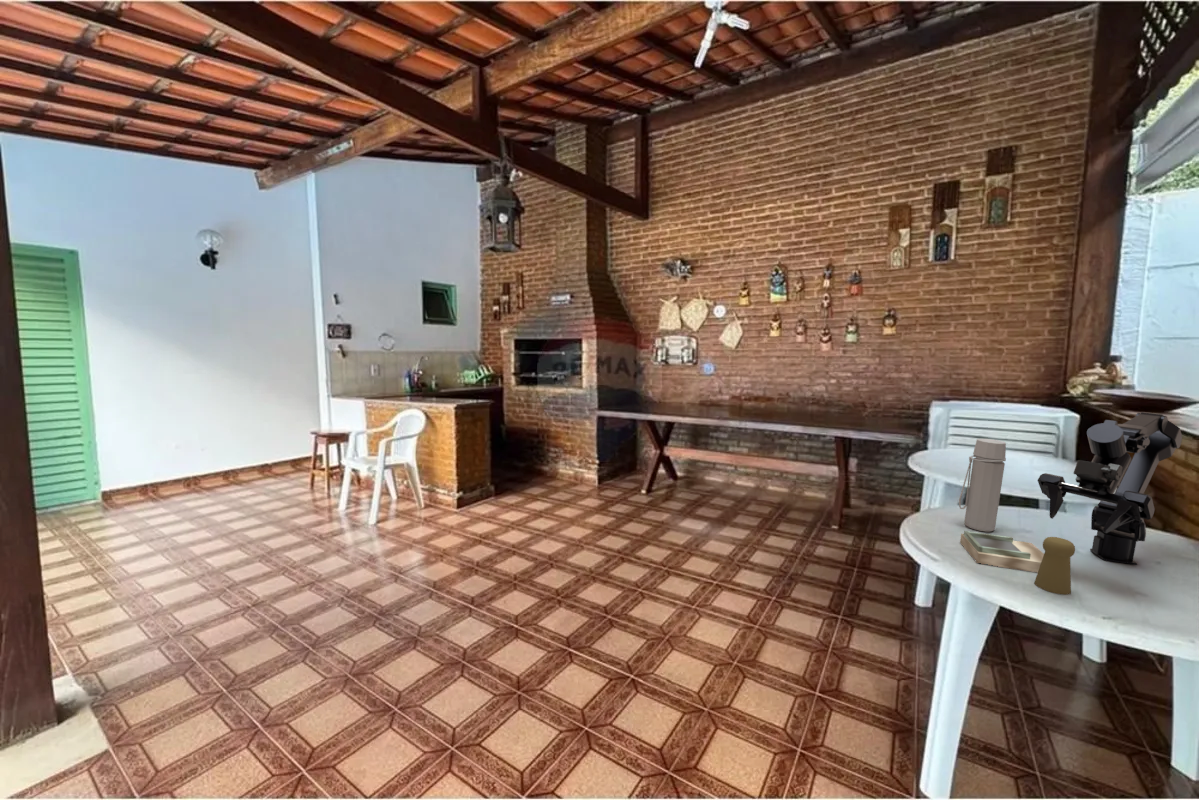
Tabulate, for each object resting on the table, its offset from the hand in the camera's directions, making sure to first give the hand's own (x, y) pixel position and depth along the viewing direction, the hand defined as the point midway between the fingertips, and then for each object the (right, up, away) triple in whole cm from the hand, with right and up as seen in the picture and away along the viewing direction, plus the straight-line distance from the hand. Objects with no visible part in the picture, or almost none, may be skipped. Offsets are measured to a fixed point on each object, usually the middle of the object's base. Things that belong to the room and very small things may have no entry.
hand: (1076, 524), depth 113 cm
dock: (-6, -11, +13) cm, 18 cm away
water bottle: (+1, -9, +32) cm, 34 cm away
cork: (-7, -13, -2) cm, 15 cm away
